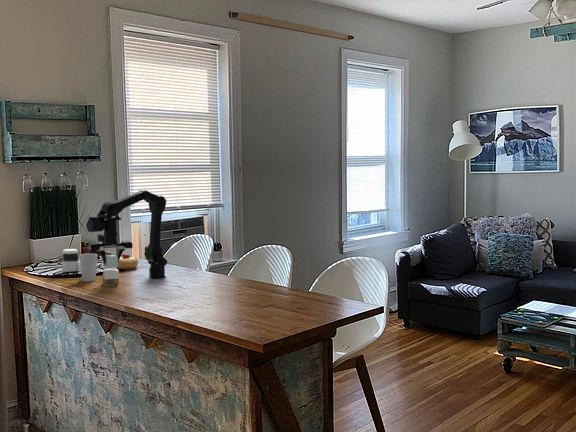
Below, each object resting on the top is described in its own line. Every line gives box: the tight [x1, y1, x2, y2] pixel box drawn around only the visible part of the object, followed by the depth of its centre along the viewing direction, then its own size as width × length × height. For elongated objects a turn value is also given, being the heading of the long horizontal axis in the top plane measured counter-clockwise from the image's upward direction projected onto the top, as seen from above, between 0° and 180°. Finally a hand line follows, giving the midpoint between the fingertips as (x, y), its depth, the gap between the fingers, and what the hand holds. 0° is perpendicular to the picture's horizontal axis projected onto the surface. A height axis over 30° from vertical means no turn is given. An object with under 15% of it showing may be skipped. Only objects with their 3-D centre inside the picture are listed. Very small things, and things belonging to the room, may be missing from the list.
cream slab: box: [102, 267, 120, 280], centre depth 283 cm, size 6×6×4 cm
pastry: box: [115, 250, 139, 271], centre depth 320 cm, size 12×12×9 cm
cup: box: [78, 252, 98, 282], centre depth 291 cm, size 8×8×12 cm
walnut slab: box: [101, 276, 120, 287], centre depth 283 cm, size 6×6×4 cm
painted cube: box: [103, 254, 118, 269], centre depth 282 cm, size 5×5×5 cm
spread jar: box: [61, 248, 81, 275], centre depth 305 cm, size 12×11×12 cm
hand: (110, 264), depth 282 cm, fingers closed on painted cube, 5 cm apart
